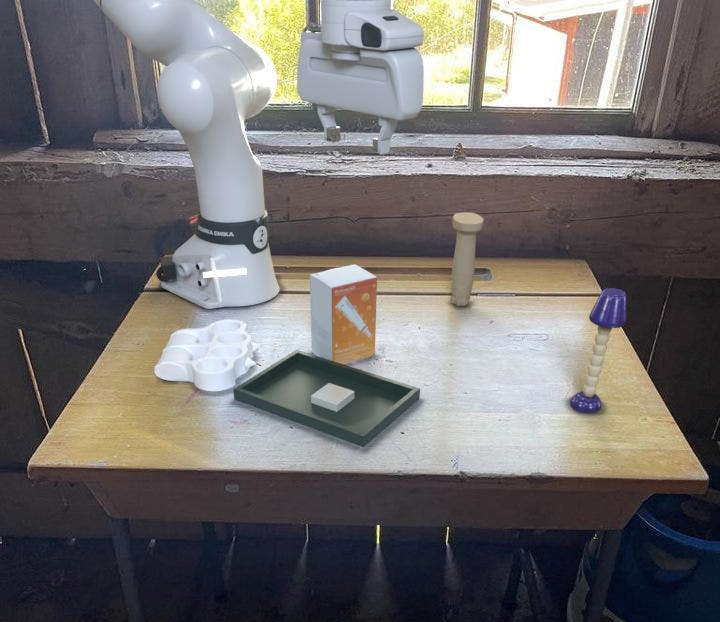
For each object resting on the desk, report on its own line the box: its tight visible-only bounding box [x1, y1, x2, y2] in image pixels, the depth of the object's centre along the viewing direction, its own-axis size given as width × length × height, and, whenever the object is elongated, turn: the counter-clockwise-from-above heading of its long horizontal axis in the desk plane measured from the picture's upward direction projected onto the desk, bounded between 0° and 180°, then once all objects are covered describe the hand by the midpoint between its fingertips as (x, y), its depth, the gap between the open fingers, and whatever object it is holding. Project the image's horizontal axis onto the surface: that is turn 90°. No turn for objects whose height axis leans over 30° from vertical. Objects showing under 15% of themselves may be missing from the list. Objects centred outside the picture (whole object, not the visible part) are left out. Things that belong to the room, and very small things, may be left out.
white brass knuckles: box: [153, 318, 262, 392], centre depth 110 cm, size 3×18×15 cm
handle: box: [450, 211, 484, 307], centre depth 125 cm, size 5×6×15 cm
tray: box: [232, 349, 421, 448], centre depth 101 cm, size 22×15×2 cm
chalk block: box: [311, 383, 355, 412], centre depth 101 cm, size 4×4×1 cm
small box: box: [309, 263, 378, 365], centre depth 109 cm, size 8×6×13 cm
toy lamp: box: [569, 287, 627, 414], centre depth 97 cm, size 5×5×17 cm
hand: (356, 147), depth 97 cm, fingers open, 8 cm apart
